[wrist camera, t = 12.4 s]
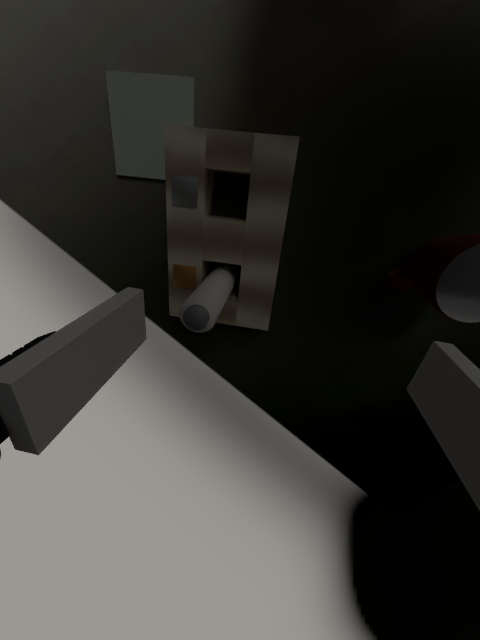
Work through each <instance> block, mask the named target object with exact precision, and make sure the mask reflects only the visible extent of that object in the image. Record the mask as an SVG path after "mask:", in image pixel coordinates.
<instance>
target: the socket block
mask: <svg viewBox="0 0 480 640" xmlns="http://www.w3.org/2000/svg"><path fill="white" fill-rule="evenodd" d="M299 139H300V137H298V136H286V135H275V134H263V133H252V132H241V131H229V130H218V129H207V128H195V127H184V126H173V125H164V145H165V179H166V212H167V246H168V279H169V313H170V316H176V317H179V310H180V307H181V305H182V304H183V303H184V301H185V300H186V299H187V298H188V297H189V296H190V295H191V294H192V293H193V292H194V290H195V289H196V288H197V287H198V286H199V285H200V284H201V283H202V282H203V281H204V279H205V278H206V277H207V276H208V275H209V267H210V261H213V262H221V263H228V264H236V265H241V275H240V285H239V292H237V291H231V293H230V295H229V297H228V299H227V301H226V303H225V305H224V307H223V309H222V311H221V313H220V315H219V317H218V318H217V320H216V322H215V323H222V324H228V325H235V326H241V327H248V328H254V329H261V330H267V331H268V326H269V320H270V314H271V308H272V302H273V296H274V290H275V284H276V278H277V272H278V266H279V260H280V253H281V247H282V241H283V235H284V229H285V223H286V217H287V211H288V205H289V199H290V193H291V187H292V181H293V175H294V169H295V163H296V157H297V151H298V145H299ZM214 171H217V172H226V173H236V174H246V175H251V176H250V186H249V195H248V205H247V215H246V219H240V218H232V217H223V216H215V215H212V198H213V175H214Z"/></svg>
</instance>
